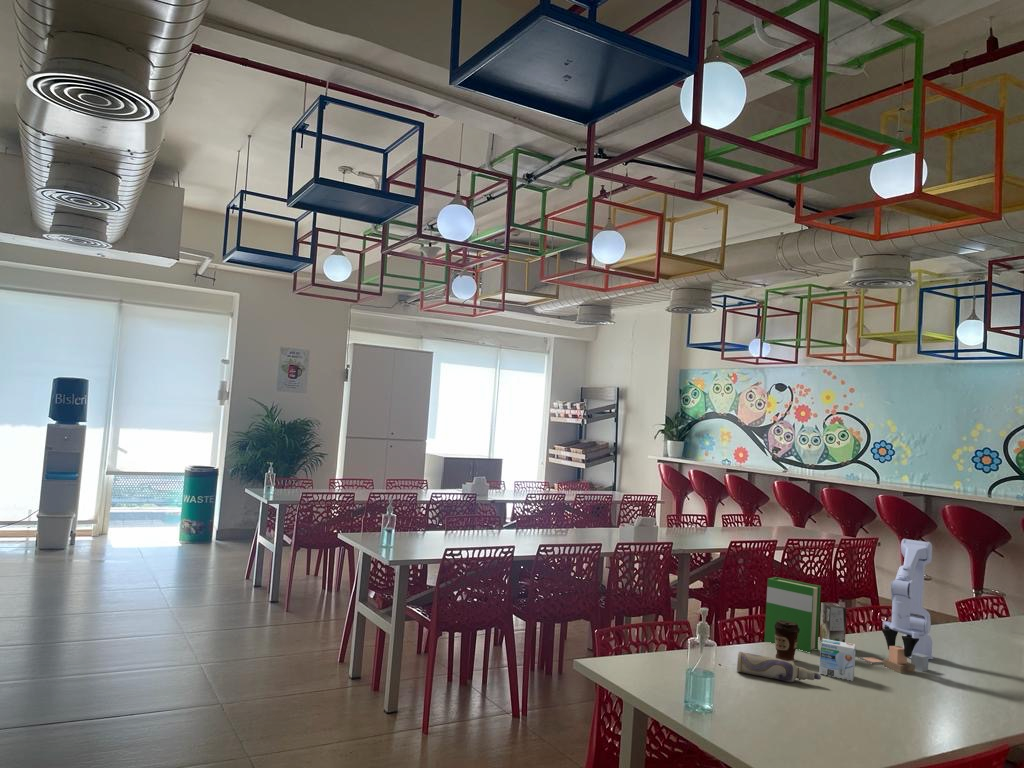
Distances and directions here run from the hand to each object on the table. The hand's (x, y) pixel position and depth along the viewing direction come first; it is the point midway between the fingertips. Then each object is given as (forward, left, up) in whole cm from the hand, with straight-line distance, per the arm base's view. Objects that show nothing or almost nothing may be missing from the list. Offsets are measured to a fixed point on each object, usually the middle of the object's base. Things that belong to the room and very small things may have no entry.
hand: (899, 653), depth 258 cm
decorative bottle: (+56, +7, -6) cm, 57 cm away
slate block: (-9, 0, -6) cm, 11 cm away
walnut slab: (0, 0, -6) cm, 6 cm away
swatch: (+3, -9, -6) cm, 11 cm away
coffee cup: (+38, -12, -6) cm, 40 cm away
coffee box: (+7, -26, -6) cm, 28 cm away
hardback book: (+24, -28, -6) cm, 37 cm away
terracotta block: (0, 0, -3) cm, 3 cm away
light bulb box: (+30, +5, -6) cm, 31 cm away
